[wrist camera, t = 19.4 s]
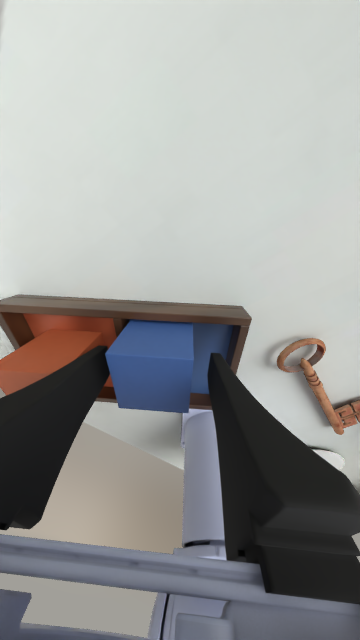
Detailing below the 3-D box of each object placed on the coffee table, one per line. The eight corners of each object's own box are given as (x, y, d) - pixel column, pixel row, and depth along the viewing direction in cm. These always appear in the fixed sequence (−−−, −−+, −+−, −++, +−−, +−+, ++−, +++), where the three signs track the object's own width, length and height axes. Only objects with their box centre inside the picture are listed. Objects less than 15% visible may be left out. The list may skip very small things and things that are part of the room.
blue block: (188, 362, 13) (188, 413, 9) (139, 359, 14) (118, 408, 10) (192, 318, 11) (193, 359, 7) (133, 315, 12) (104, 353, 8)
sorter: (242, 305, 12) (252, 318, 10) (221, 392, 16) (225, 411, 14) (17, 294, 12) (-14, 303, 10) (59, 380, 17) (43, 397, 15)
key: (371, 413, 17) (339, 314, 12) (381, 422, 16) (352, 320, 11) (317, 432, 18) (268, 352, 13) (324, 441, 17) (274, 359, 12)
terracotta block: (111, 371, 15) (82, 420, 11) (66, 368, 15) (20, 415, 11) (101, 331, 12) (60, 374, 8) (49, 328, 13) (-16, 369, 9)
